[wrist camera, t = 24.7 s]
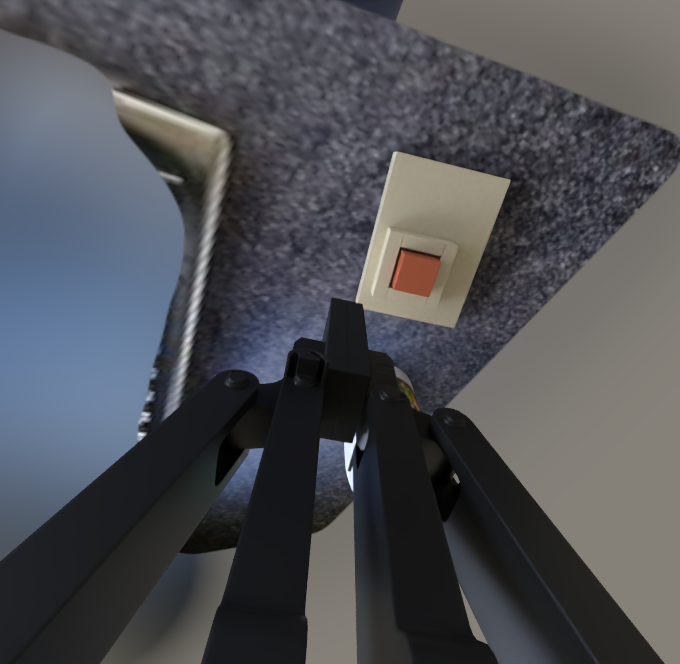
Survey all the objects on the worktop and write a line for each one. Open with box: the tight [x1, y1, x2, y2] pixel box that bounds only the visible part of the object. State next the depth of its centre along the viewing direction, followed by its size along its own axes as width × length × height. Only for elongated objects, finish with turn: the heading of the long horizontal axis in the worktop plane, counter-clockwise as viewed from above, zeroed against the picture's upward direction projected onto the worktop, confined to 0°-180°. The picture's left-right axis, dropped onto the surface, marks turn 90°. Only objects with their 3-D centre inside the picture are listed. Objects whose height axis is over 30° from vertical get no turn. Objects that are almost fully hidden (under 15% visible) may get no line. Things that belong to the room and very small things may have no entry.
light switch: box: [356, 151, 511, 328], centre depth 34 cm, size 14×10×4 cm
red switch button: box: [392, 250, 441, 297], centre depth 33 cm, size 3×3×2 cm
